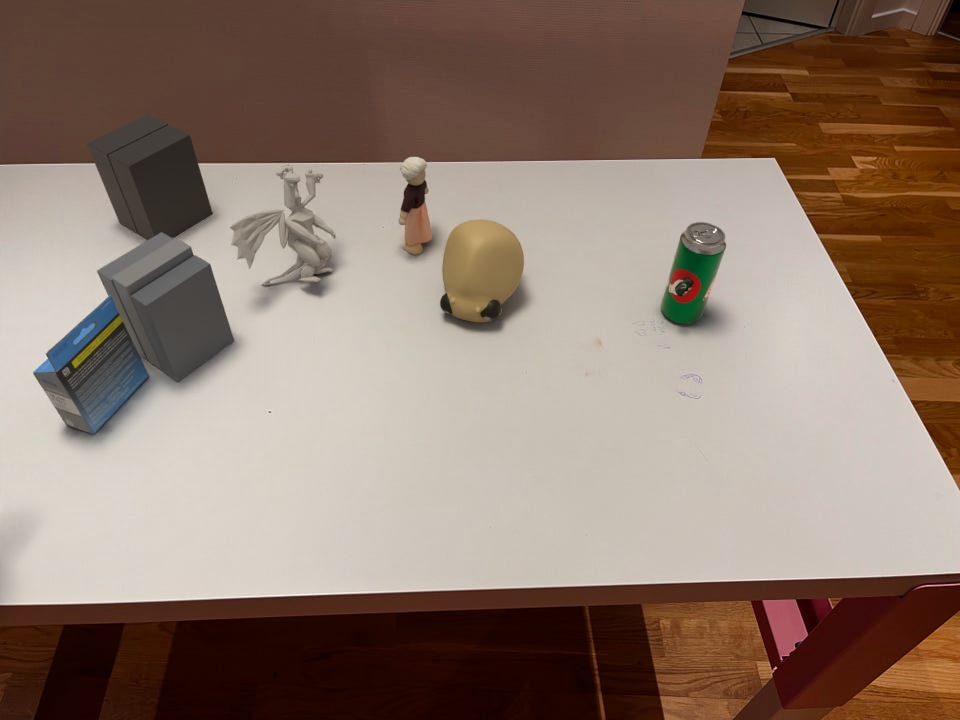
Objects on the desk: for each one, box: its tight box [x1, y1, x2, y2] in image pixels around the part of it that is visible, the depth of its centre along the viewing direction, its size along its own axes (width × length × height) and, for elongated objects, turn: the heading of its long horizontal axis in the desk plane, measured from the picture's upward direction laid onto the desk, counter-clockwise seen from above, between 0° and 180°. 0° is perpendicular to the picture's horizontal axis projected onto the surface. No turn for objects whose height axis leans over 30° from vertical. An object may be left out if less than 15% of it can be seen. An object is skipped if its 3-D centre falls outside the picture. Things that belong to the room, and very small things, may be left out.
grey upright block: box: [96, 232, 235, 383], centre depth 80 cm, size 8×8×12 cm
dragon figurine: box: [228, 163, 337, 286], centre depth 90 cm, size 10×18×14 cm, turn 168°
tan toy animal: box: [439, 219, 525, 323], centre depth 88 cm, size 10×12×11 cm
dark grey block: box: [86, 113, 214, 241], centre depth 96 cm, size 8×9×12 cm
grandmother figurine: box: [398, 156, 433, 256], centre depth 94 cm, size 8×4×13 cm, turn 171°
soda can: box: [660, 221, 727, 325], centre depth 86 cm, size 5×5×12 cm
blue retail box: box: [32, 295, 150, 435], centre depth 74 cm, size 9×4×12 cm, turn 159°
